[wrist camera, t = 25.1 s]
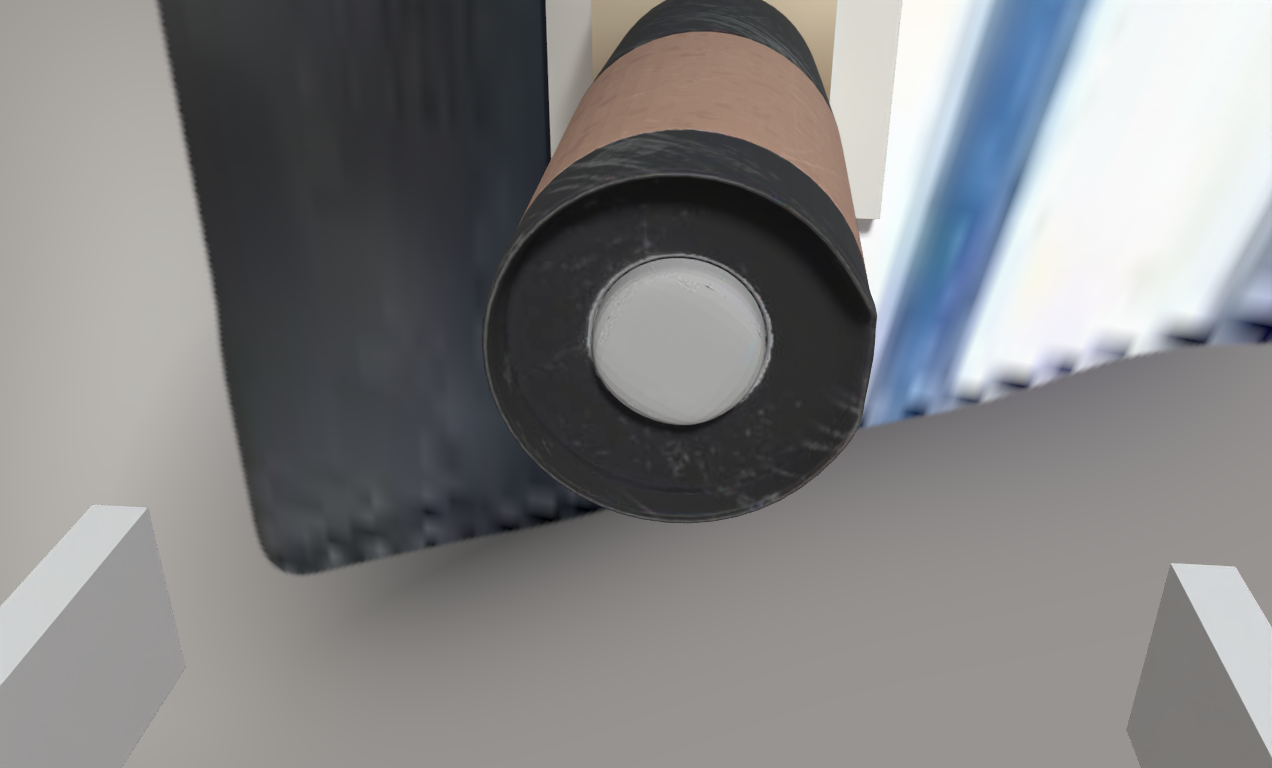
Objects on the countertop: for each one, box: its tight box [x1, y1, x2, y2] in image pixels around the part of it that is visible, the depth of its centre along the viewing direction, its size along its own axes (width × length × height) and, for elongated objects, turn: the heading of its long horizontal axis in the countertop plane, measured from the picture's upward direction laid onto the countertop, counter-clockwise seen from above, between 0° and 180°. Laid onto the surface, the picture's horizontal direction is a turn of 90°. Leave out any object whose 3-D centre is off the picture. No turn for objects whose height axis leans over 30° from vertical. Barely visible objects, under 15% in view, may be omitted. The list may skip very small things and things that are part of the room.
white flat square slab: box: [546, 0, 902, 219], centre depth 47 cm, size 14×14×1 cm
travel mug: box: [482, 0, 877, 523], centre depth 30 cm, size 8×8×20 cm
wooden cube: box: [591, 0, 837, 103], centre depth 43 cm, size 8×8×8 cm
